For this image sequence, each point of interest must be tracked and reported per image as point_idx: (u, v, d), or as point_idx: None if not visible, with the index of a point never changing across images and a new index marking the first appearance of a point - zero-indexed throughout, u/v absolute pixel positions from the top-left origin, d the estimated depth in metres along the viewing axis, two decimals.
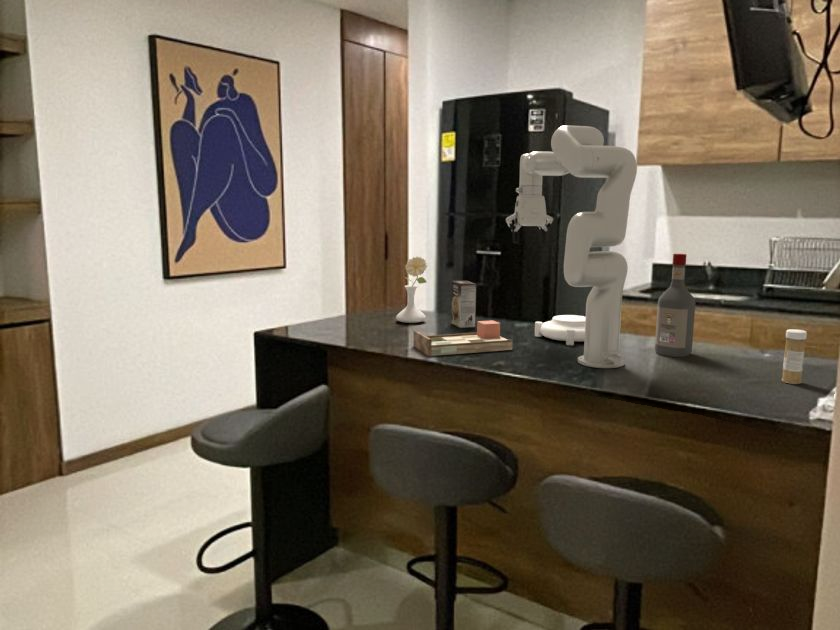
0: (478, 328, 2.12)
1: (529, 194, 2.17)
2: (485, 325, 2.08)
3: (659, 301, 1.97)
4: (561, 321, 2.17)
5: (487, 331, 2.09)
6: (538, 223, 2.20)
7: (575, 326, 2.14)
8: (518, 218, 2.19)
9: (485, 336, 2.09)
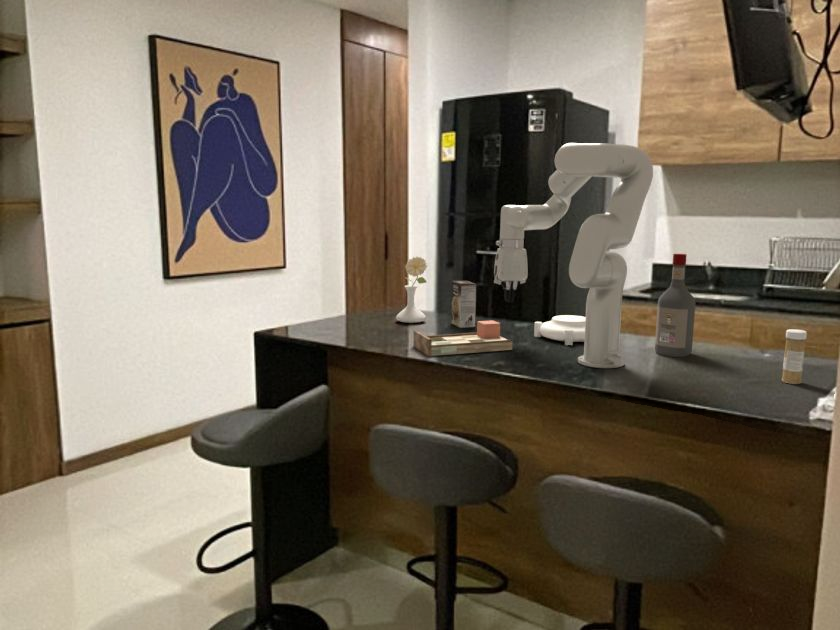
0: (478, 328, 2.12)
1: (510, 248, 2.06)
2: (485, 325, 2.08)
3: (659, 301, 1.97)
4: (560, 321, 2.16)
5: (487, 331, 2.09)
6: (519, 278, 2.09)
7: (574, 326, 2.14)
8: (498, 272, 2.08)
9: (485, 336, 2.09)
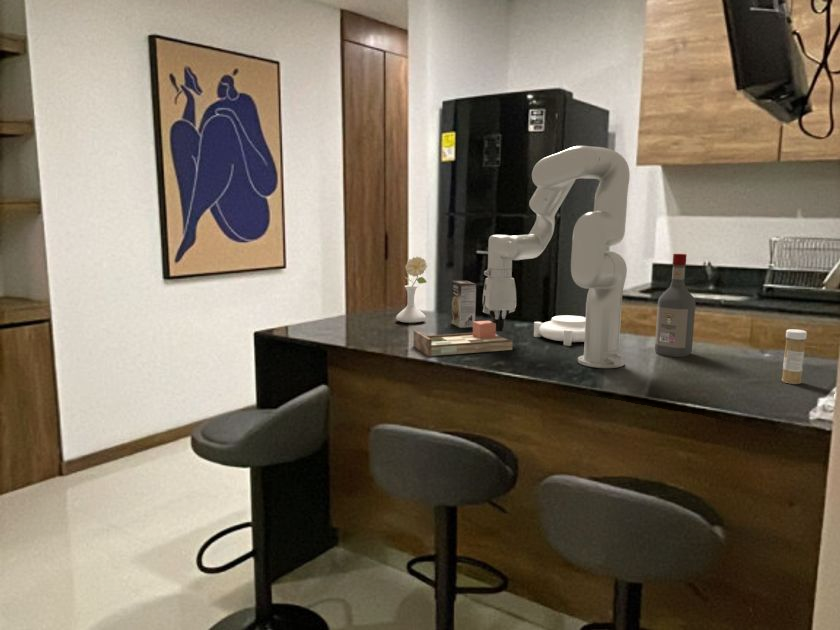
0: (474, 328, 2.12)
1: (497, 278, 2.06)
2: (481, 325, 2.08)
3: (659, 301, 1.97)
4: (559, 321, 2.16)
5: (483, 331, 2.08)
6: (507, 307, 2.09)
7: (573, 326, 2.14)
8: (486, 302, 2.08)
9: (481, 336, 2.08)
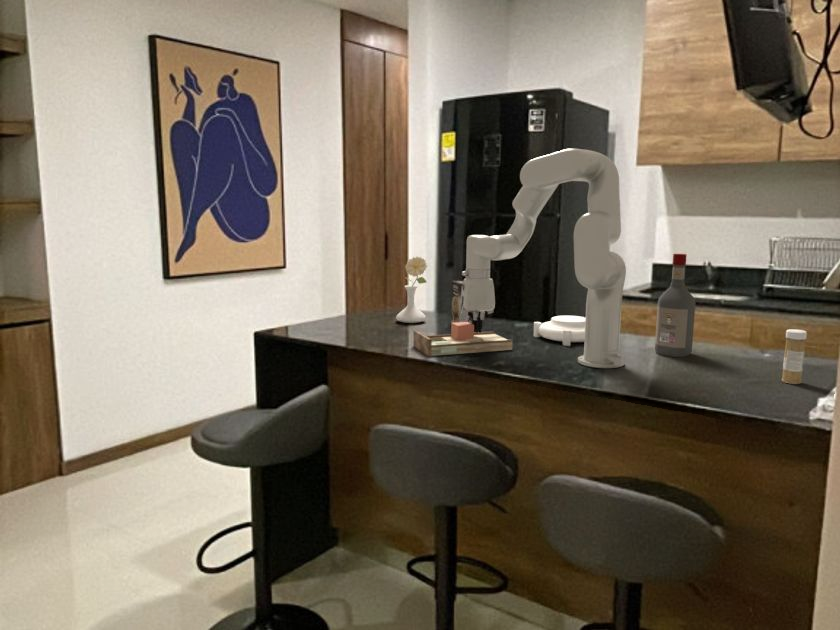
0: (452, 330, 2.10)
1: (475, 278, 2.04)
2: (458, 327, 2.05)
3: (659, 301, 1.97)
4: (559, 321, 2.16)
5: (461, 332, 2.06)
6: (486, 308, 2.07)
7: (573, 327, 2.13)
8: (464, 303, 2.06)
9: (459, 338, 2.06)
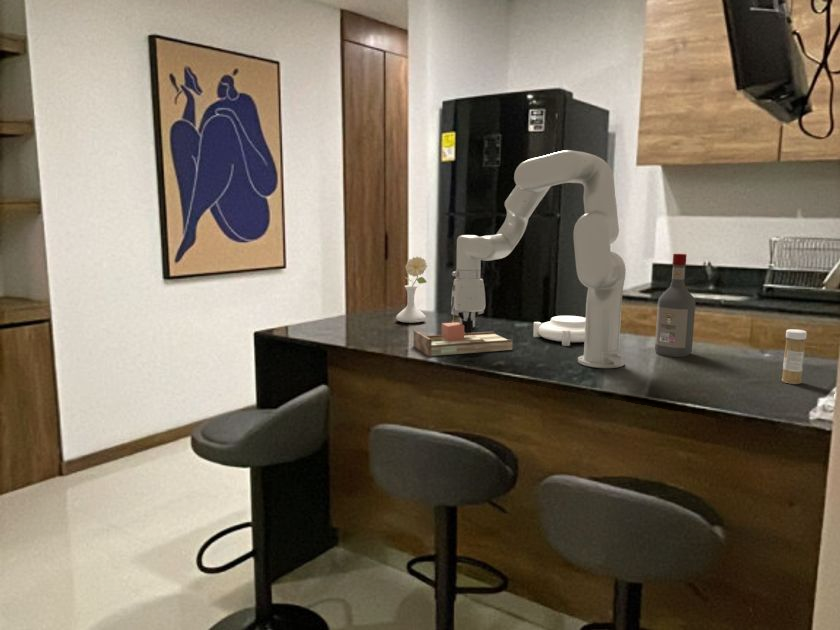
0: (442, 330, 2.09)
1: (466, 279, 2.03)
2: (449, 327, 2.04)
3: (659, 301, 1.97)
4: (558, 322, 2.16)
5: (451, 333, 2.05)
6: (476, 309, 2.06)
7: (572, 327, 2.13)
8: (454, 304, 2.05)
9: (449, 338, 2.05)
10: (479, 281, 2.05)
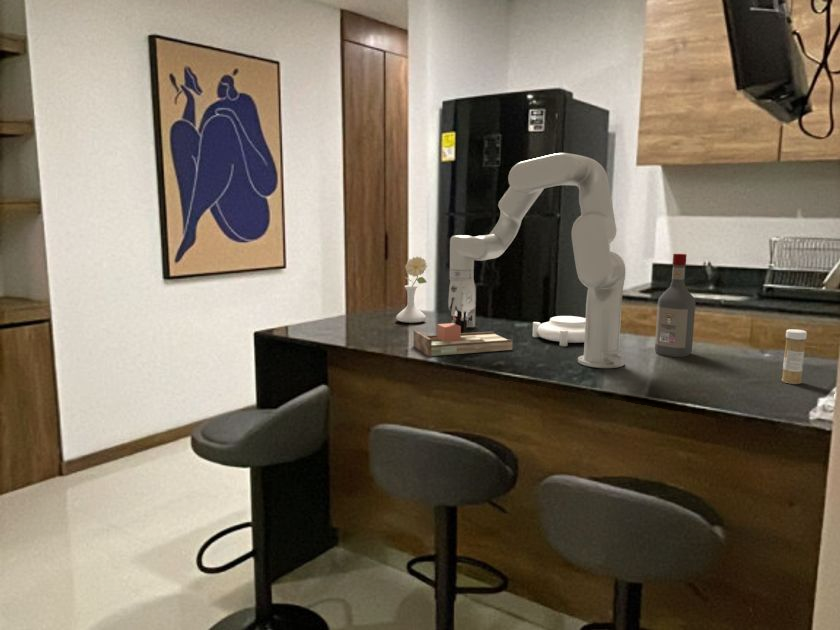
0: (438, 331, 2.07)
1: (467, 279, 2.04)
2: (445, 328, 2.03)
3: (659, 301, 1.97)
4: (557, 322, 2.15)
5: (448, 334, 2.04)
6: (471, 307, 2.09)
7: (570, 327, 2.13)
8: (458, 305, 2.04)
9: (445, 339, 2.04)
10: (472, 280, 2.08)
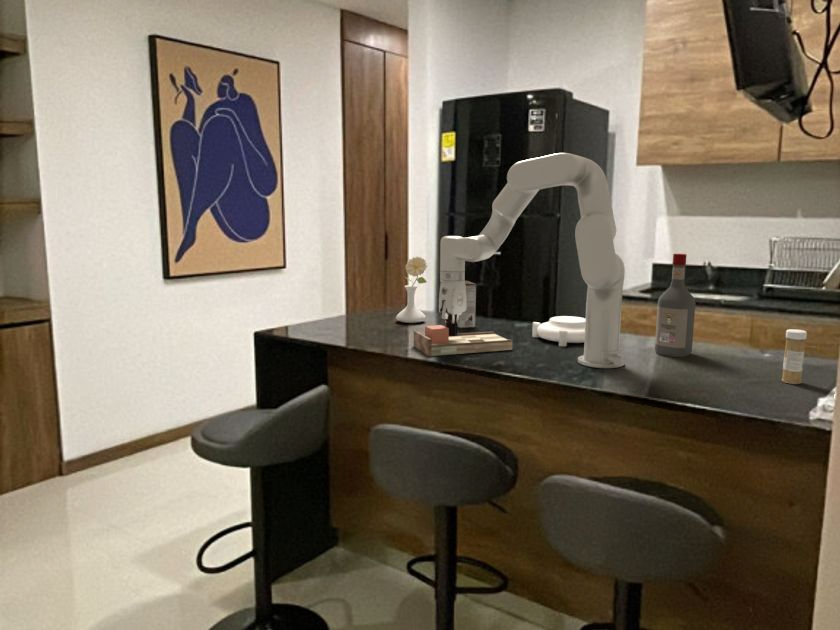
0: (426, 333, 2.04)
1: (458, 281, 1.99)
2: (433, 330, 2.00)
3: (659, 301, 1.97)
4: (556, 322, 2.15)
5: (435, 336, 2.00)
6: (462, 310, 2.04)
7: (570, 327, 2.12)
8: (448, 307, 1.98)
9: (433, 342, 2.00)
10: (463, 282, 2.03)
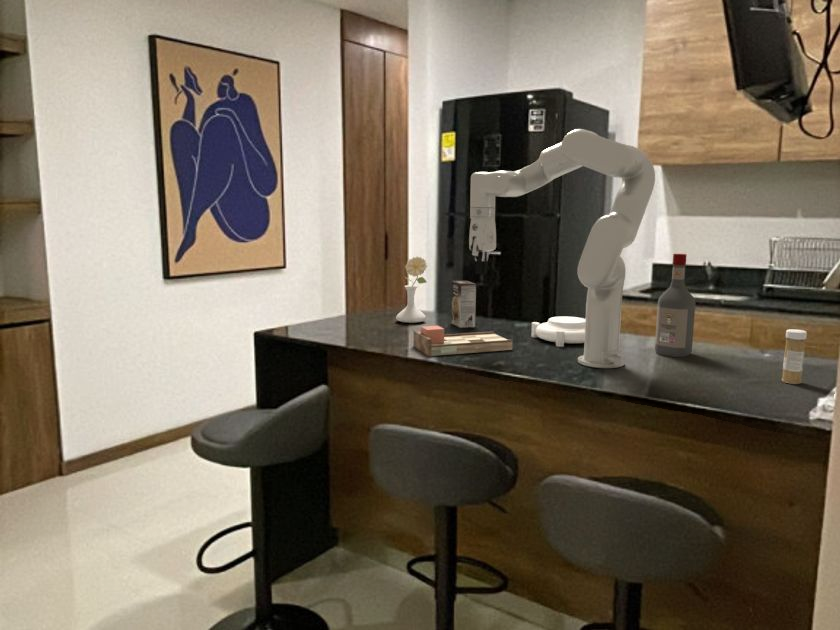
0: None
1: (488, 217, 1.97)
2: (428, 331, 1.99)
3: (659, 301, 1.97)
4: (554, 322, 2.15)
5: (431, 337, 1.99)
6: (492, 248, 2.02)
7: (567, 328, 2.12)
8: (479, 243, 1.97)
9: None
10: (493, 219, 2.02)
